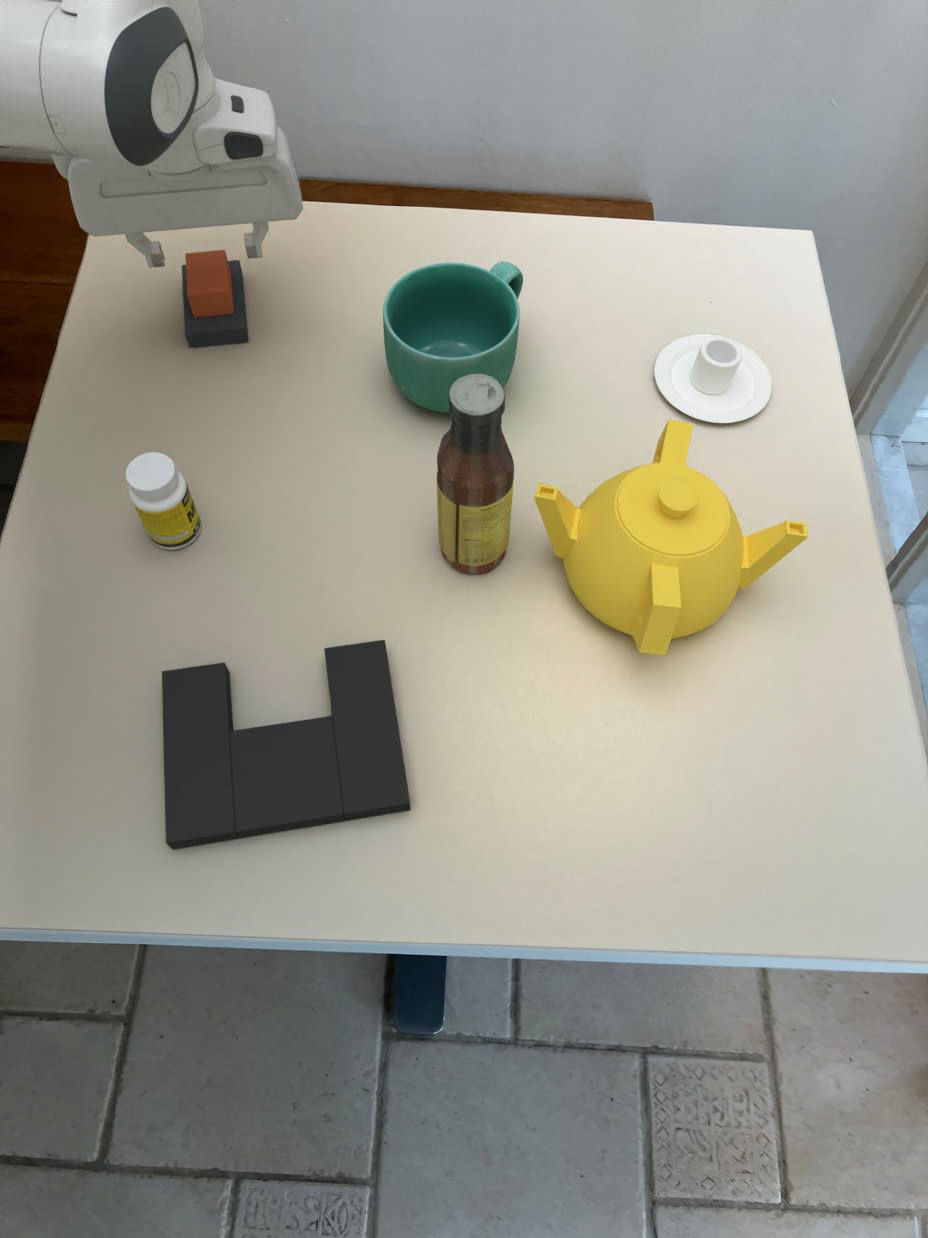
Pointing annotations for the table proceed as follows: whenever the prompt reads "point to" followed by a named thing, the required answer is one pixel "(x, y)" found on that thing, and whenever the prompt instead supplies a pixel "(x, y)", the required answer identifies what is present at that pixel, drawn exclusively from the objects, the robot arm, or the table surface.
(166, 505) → the supplement bottle
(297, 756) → the base pad
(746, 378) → the candle holder
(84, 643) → the table surface
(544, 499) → the teapot
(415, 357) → the mug
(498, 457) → the sauce bottle
